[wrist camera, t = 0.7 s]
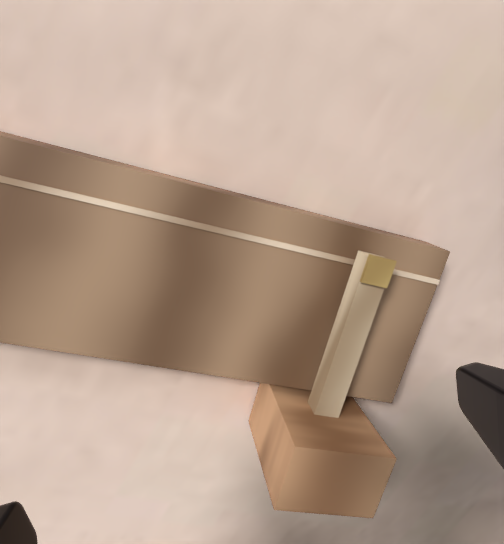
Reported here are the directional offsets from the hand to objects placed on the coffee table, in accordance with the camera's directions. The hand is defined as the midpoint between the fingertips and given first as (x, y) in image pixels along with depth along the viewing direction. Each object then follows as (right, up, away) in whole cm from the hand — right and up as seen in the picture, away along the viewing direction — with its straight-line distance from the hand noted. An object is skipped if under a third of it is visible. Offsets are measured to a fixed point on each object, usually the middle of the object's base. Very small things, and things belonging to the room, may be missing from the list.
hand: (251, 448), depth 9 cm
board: (-3, +4, +12) cm, 13 cm away
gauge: (+3, 0, +14) cm, 14 cm away
